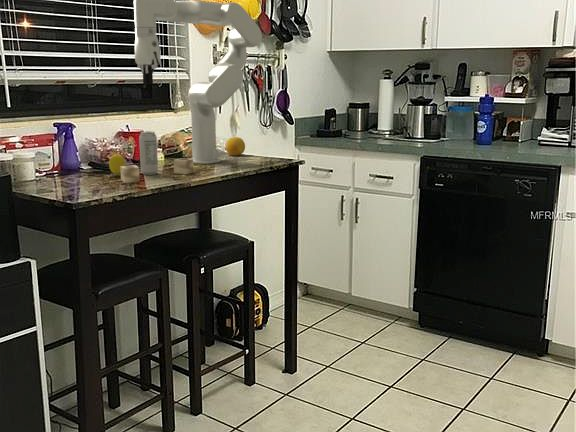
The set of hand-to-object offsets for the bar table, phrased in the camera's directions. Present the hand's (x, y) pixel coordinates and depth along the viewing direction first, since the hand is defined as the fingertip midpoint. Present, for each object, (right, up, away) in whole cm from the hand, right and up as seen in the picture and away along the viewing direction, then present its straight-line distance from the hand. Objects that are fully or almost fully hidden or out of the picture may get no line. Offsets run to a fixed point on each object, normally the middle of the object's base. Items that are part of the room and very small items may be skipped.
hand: (148, 84), depth 232 cm
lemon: (-8, -35, -10) cm, 37 cm away
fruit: (+29, -23, +39) cm, 54 cm away
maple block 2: (+14, -33, -3) cm, 36 cm away
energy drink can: (+2, -34, -6) cm, 34 cm away
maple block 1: (-2, -37, -20) cm, 42 cm away
